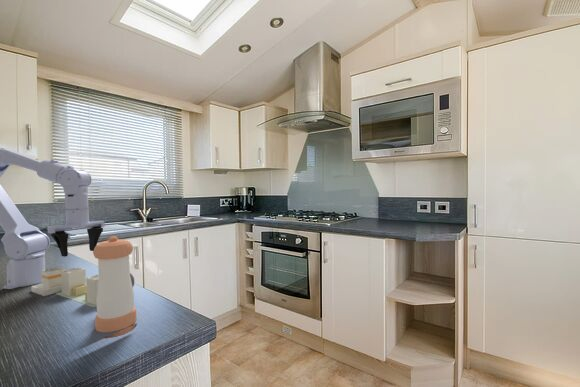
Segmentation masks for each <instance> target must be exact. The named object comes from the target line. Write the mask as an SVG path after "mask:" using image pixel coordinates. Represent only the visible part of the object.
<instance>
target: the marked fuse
mask: <svg viewBox="0 0 580 387" xmlns="http://www.w3.org/2000/svg"><path fill="white" fill-rule="evenodd" d="M63 270H66V268H64V267H61V266H56V267H52V268H45V270H42V282H41V284H42V289H44V290H46V289H50V288H54V287H58V286H61V285H62V282H61V271H63Z"/></svg>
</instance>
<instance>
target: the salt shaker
mask: <svg viewBox="0 0 580 387" xmlns="http://www.w3.org/2000/svg"><path fill="white" fill-rule="evenodd" d="M133 250H134V246H133V244H132V243H131V242H130V240H127V239H126V240H125V239H121V238H120V239H119V238H118V236H113V235H112V236H110V237H109V238H108V240H104V241H102V242H99V243H97V245H96V247H95V248H94V251H92V254H93V257H94V258H95V259H97V260H98V262H97V263H98V275H99V283H98V290H97V298H96V303H97V307H96V312H97V313H96V314H95V317H94V319H95V320H94V323H95V324H94V326H95V327H94V328H95V331H96V332H99V333H111V332H115V333H112V334H110V335H107V336H105V337H104V339H109V338H115V337H119V336H122V335H126V334H127V333H131V331H133V330H134V329H136V327H137V324H138V323H136V321H137V320H138V319H137V309H136V308H137V307H136V306H135V292H134V286H133V287H132V282H131V278H130V273H131V268H130V267H131V266H130V255H131V254H132V253H133ZM134 323H135V324H134Z"/></svg>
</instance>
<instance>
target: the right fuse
mask: <svg viewBox="0 0 580 387" xmlns="http://www.w3.org/2000/svg"><path fill="white" fill-rule="evenodd" d="M98 283H99V274H95V275H92V276H88V277H86V285H87V302H89V303H92V304H95V305H97V303H96V298H97V290H98Z"/></svg>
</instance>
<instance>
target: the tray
mask: <svg viewBox="0 0 580 387" xmlns="http://www.w3.org/2000/svg"><path fill="white" fill-rule="evenodd" d="M30 287H31V292H32V293H34V294H37V295H39V296H42V297H46V296H50V295H52V294H56V293H60V292H62V285H61V286H58V287H54V288H50V289H46V290H44V289H42V283H38V284H34V285H30Z"/></svg>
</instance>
